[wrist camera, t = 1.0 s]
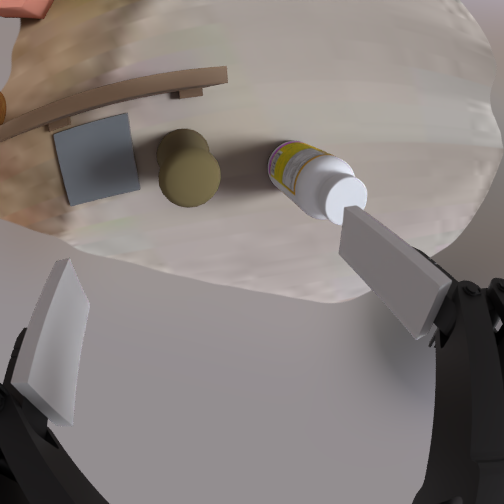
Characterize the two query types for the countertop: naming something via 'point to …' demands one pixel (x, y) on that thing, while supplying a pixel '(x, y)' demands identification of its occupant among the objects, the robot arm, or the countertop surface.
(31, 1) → the pink cube teapot
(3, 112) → the disposable coffee cup
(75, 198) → the coaster
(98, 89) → the screen
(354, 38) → the countertop surface
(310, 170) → the supplement bottle
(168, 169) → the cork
